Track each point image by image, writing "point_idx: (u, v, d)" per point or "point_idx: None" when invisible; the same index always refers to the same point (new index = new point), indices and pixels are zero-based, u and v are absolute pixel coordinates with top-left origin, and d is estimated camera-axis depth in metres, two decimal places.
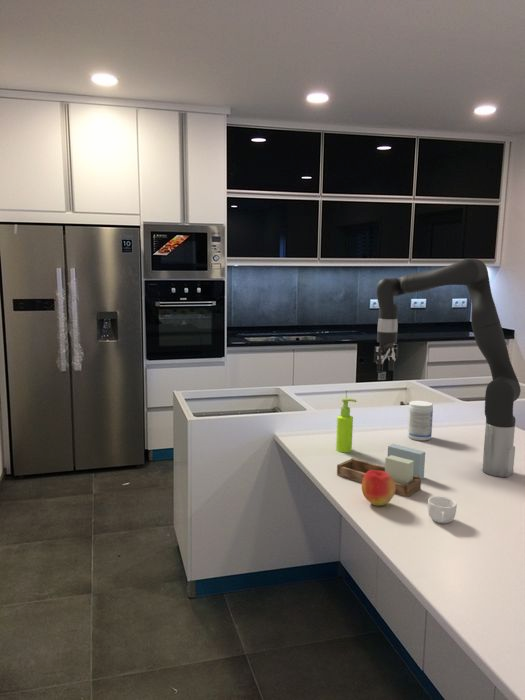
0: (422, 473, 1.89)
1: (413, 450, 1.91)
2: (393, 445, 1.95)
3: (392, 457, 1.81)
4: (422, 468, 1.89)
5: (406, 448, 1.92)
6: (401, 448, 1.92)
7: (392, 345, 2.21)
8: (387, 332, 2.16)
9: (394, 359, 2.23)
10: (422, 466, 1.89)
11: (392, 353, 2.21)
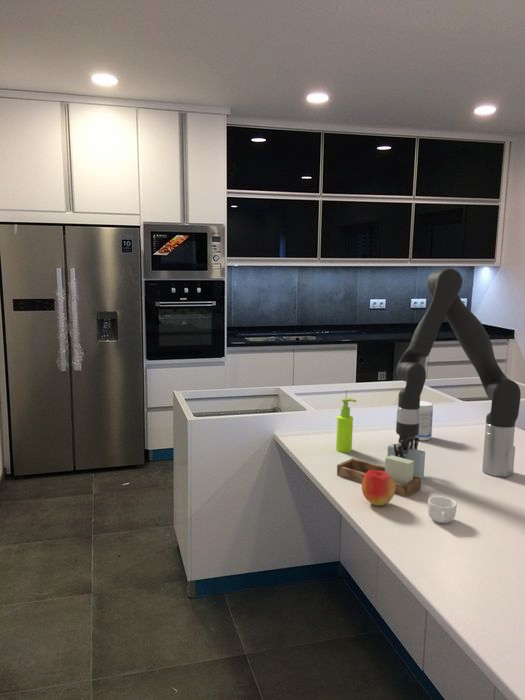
0: (422, 473, 1.89)
1: (413, 450, 1.91)
2: (393, 445, 1.95)
3: (392, 457, 1.81)
4: (422, 468, 1.89)
5: None
6: None
7: (414, 436, 1.93)
8: (408, 424, 1.87)
9: None
10: (422, 466, 1.89)
11: (412, 446, 1.92)
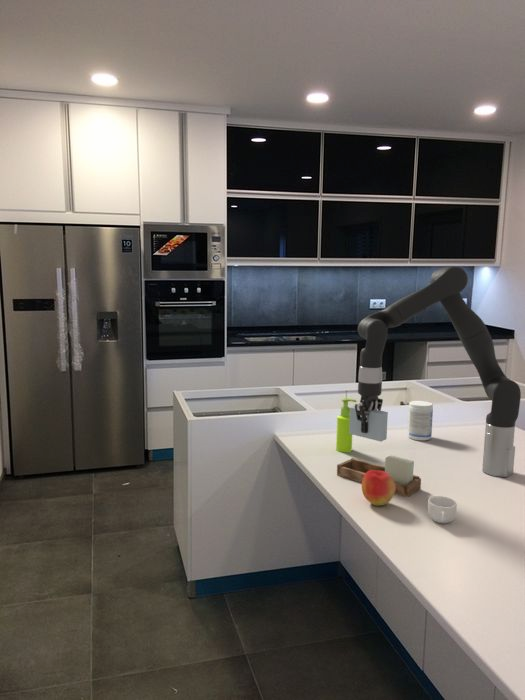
0: (384, 434, 1.83)
1: (375, 410, 1.84)
2: None
3: (392, 457, 1.81)
4: (384, 429, 1.82)
5: None
6: None
7: (376, 396, 1.86)
8: (369, 384, 1.80)
9: None
10: (384, 427, 1.82)
11: (375, 407, 1.85)
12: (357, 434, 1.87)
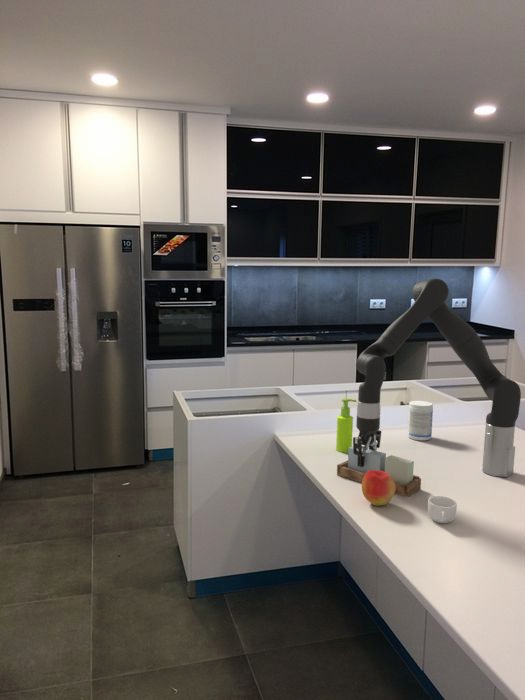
0: None
1: (374, 452, 1.86)
2: None
3: (392, 457, 1.81)
4: (382, 470, 1.84)
5: (367, 450, 1.88)
6: (362, 450, 1.88)
7: (374, 431, 1.88)
8: (367, 419, 1.82)
9: (375, 449, 1.89)
10: (382, 469, 1.84)
11: (374, 441, 1.87)
12: None
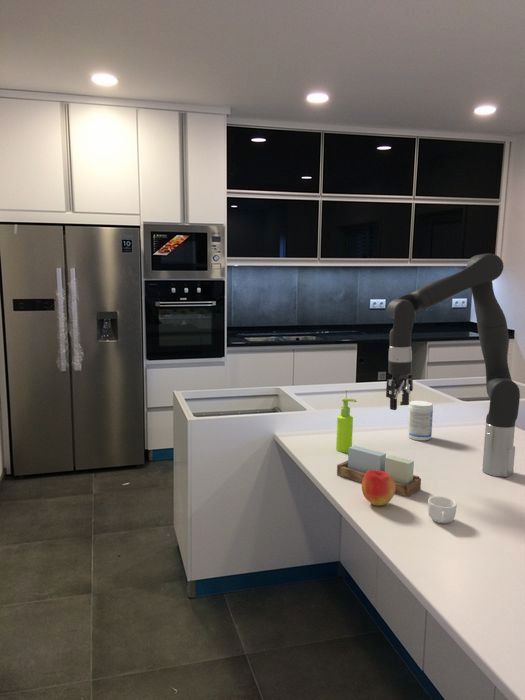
0: None
1: (374, 452, 1.86)
2: (354, 447, 1.91)
3: (392, 457, 1.81)
4: (382, 470, 1.84)
5: (367, 450, 1.88)
6: (362, 450, 1.88)
7: (406, 376, 1.90)
8: (400, 363, 1.85)
9: (409, 392, 1.93)
10: (382, 469, 1.84)
11: (406, 385, 1.90)
12: None
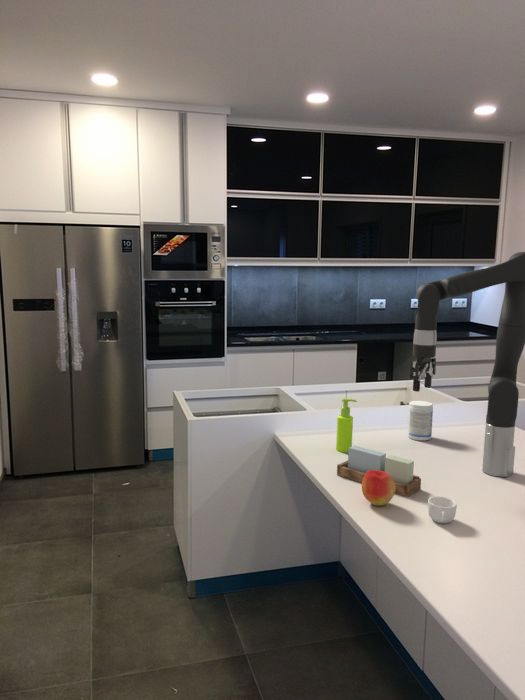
0: None
1: (374, 452, 1.86)
2: (354, 447, 1.91)
3: (392, 457, 1.81)
4: (382, 470, 1.84)
5: (367, 450, 1.88)
6: (362, 450, 1.88)
7: (430, 359, 1.95)
8: (425, 345, 1.90)
9: (432, 375, 1.98)
10: (382, 469, 1.84)
11: (430, 368, 1.95)
12: None
